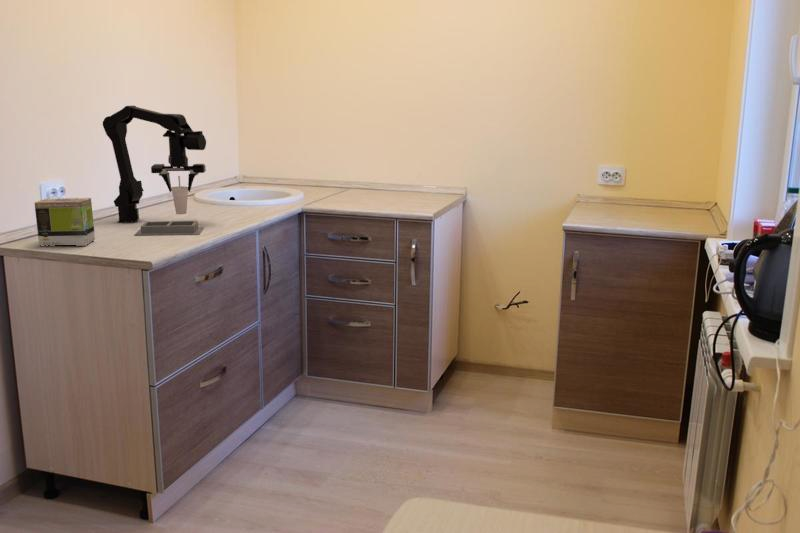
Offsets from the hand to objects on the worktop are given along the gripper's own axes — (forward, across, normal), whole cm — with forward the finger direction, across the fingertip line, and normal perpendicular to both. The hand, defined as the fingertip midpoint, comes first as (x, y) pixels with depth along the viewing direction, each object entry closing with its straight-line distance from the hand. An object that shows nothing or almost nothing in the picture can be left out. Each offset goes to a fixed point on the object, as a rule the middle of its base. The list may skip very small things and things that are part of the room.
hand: (180, 191), depth 292 cm
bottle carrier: (+12, +2, +14) cm, 19 cm away
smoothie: (+8, 0, 0) cm, 8 cm away
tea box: (+12, +32, +32) cm, 47 cm away
